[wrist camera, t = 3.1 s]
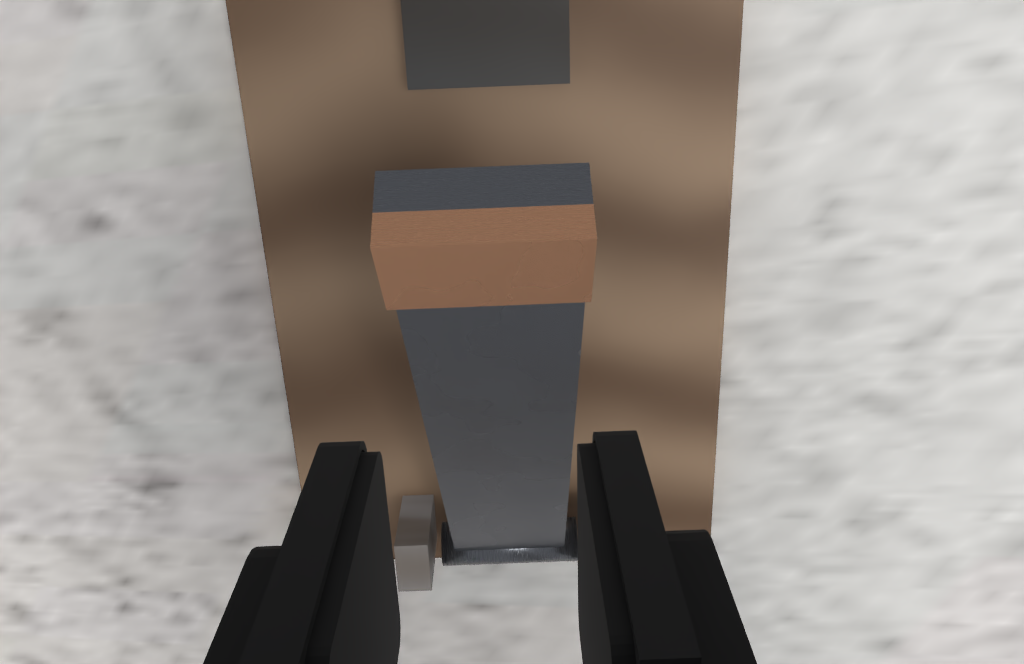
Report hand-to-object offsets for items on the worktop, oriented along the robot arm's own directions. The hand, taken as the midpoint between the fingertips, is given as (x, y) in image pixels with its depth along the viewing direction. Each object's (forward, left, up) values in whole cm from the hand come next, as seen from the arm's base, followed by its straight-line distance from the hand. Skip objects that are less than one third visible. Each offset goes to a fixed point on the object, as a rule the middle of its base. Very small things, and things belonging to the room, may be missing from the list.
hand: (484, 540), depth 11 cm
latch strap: (-11, -7, -18) cm, 23 cm away
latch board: (-3, -2, -21) cm, 21 cm away
